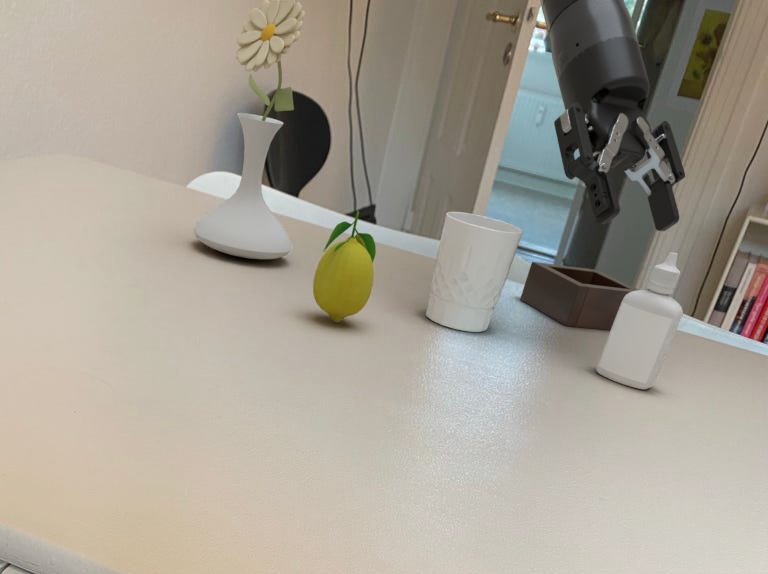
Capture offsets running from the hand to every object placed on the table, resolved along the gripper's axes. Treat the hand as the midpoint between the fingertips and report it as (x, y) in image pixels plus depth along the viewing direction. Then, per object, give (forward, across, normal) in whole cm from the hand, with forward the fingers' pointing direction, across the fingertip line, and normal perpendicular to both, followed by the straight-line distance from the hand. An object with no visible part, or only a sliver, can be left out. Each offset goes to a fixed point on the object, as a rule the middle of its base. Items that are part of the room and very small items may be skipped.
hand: (639, 223), depth 85 cm
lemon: (+2, -25, +17) cm, 30 cm away
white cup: (+1, -8, +18) cm, 20 cm away
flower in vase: (-14, -23, +33) cm, 43 cm away
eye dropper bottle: (+13, 0, +6) cm, 14 cm away
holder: (-2, +14, +20) cm, 25 cm away
